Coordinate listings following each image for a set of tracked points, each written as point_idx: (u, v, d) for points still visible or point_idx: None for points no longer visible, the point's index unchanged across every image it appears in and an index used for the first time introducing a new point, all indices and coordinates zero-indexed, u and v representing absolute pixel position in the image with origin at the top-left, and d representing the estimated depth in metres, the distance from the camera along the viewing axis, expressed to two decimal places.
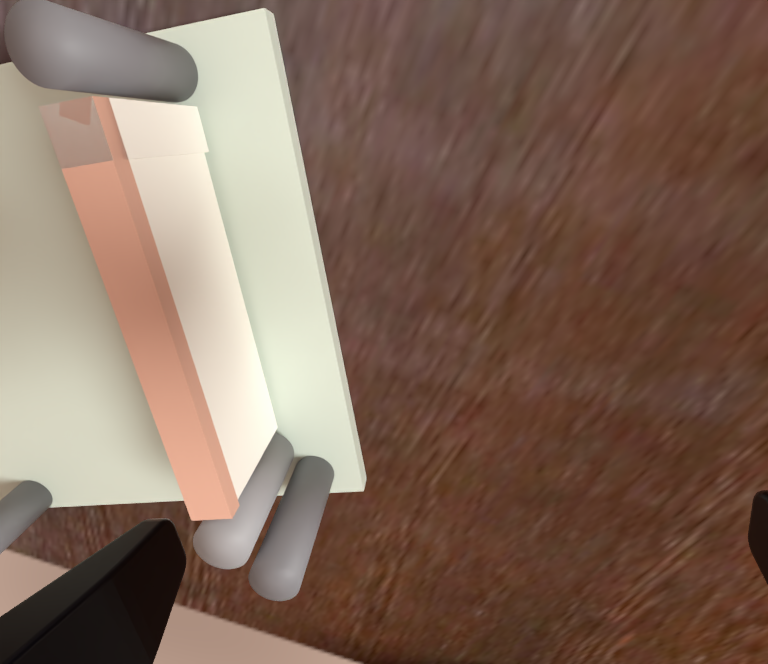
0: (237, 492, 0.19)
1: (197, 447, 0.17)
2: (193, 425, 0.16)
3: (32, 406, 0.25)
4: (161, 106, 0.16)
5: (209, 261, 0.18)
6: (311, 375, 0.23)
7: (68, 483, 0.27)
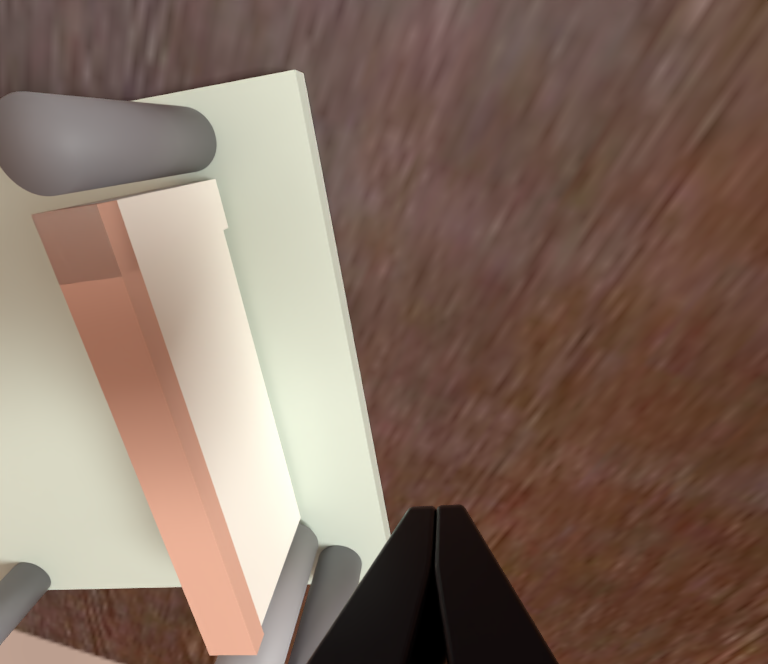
0: (261, 617, 0.17)
1: (218, 582, 0.14)
2: (213, 560, 0.14)
3: (28, 488, 0.23)
4: (176, 191, 0.14)
5: (229, 355, 0.16)
6: (339, 463, 0.20)
7: (68, 566, 0.24)
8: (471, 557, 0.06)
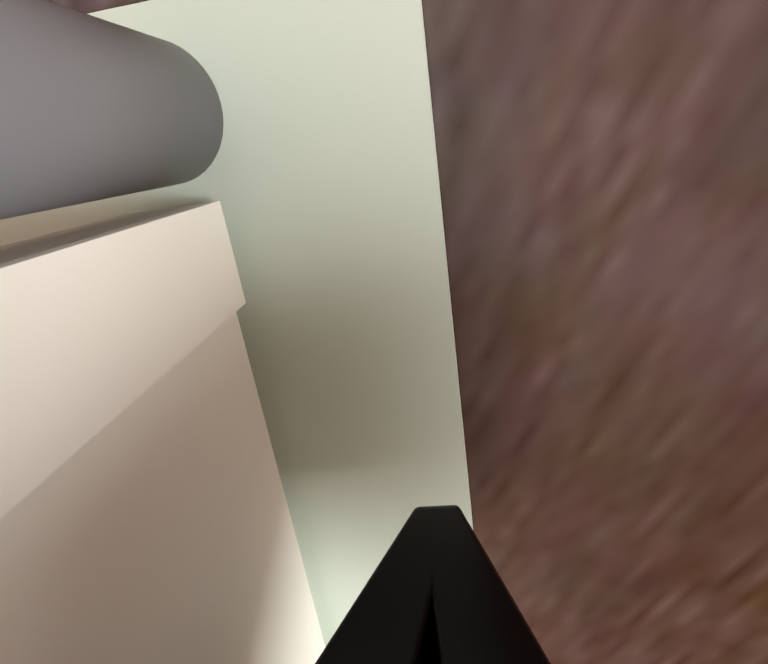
0: None
1: None
2: None
3: None
4: (115, 245, 0.05)
5: (246, 585, 0.07)
6: None
7: None
8: (465, 557, 0.06)
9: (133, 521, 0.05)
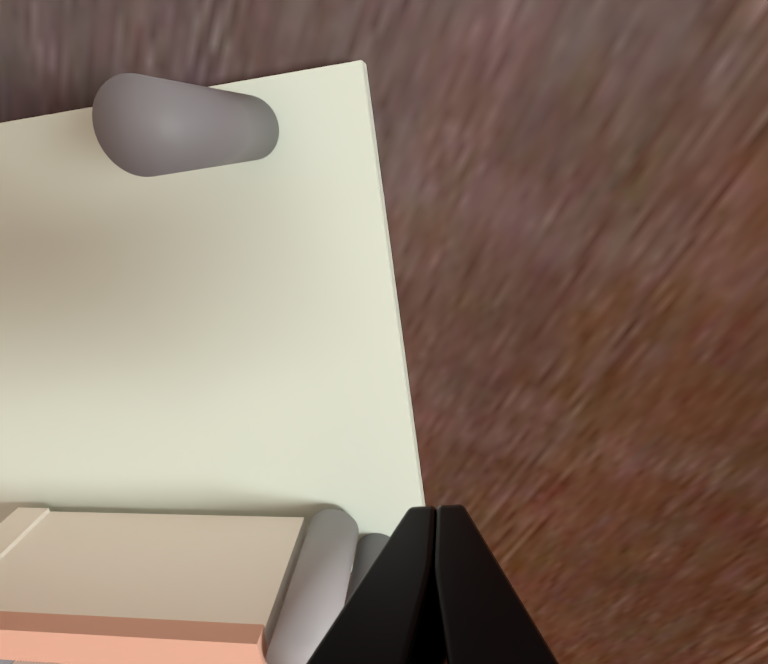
0: (263, 616, 0.17)
1: (171, 647, 0.17)
2: (146, 643, 0.17)
3: (69, 473, 0.23)
4: None
5: (96, 546, 0.21)
6: (383, 451, 0.21)
7: None
8: (471, 557, 0.06)
9: (14, 573, 0.20)
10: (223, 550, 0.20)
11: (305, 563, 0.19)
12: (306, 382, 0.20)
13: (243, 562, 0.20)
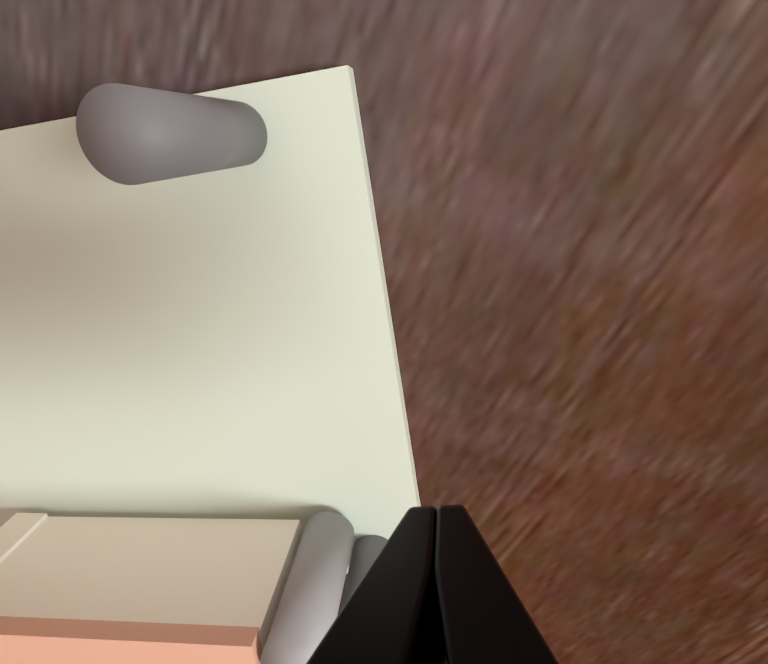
0: (258, 618, 0.17)
1: (166, 650, 0.17)
2: (141, 647, 0.17)
3: (67, 478, 0.23)
4: None
5: (93, 551, 0.21)
6: (377, 453, 0.21)
7: None
8: (471, 557, 0.06)
9: (12, 578, 0.20)
10: (219, 553, 0.20)
11: (300, 565, 0.19)
12: (299, 386, 0.20)
13: (239, 565, 0.20)
